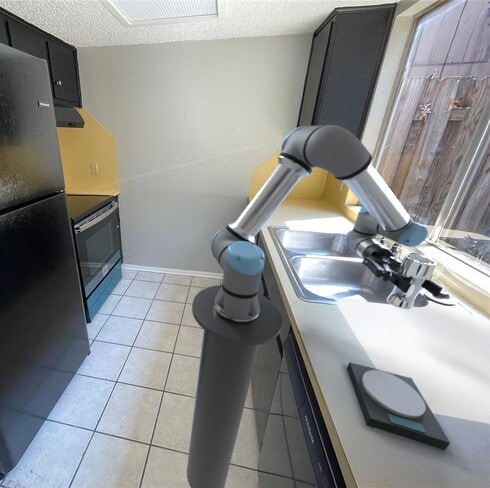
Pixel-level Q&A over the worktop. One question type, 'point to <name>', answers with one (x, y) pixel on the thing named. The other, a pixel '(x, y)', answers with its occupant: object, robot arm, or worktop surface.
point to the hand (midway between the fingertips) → (422, 290)
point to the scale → (395, 405)
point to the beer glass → (412, 279)
